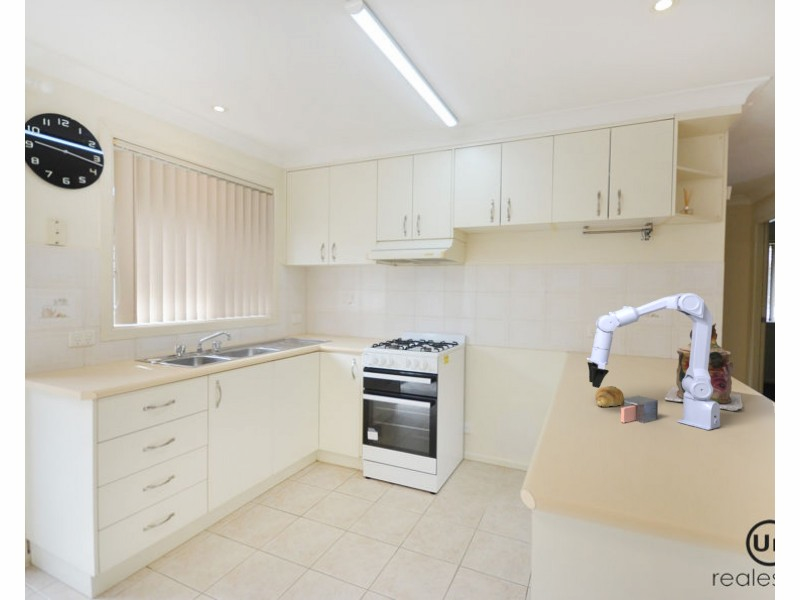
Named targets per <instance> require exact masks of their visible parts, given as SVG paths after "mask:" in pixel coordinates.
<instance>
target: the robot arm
mask: <svg viewBox="0 0 800 600" xmlns="http://www.w3.org/2000/svg"><path fill="white" fill-rule="evenodd" d="M666 309H667V310H669V309H670V310H676V311H678V312H679V313H681V314H684V315H685V316H687V317H688V318H689V319H690V320H691V321H692V329H691V330H692V340H691V339H690V341H691V342H690V343H691V351H690V361H689V368H688V369H687V371H686V376H685V377H684V379H683V380H682V387H683V389H684V390H685V393H684V396H683V402H682V403H683V404H682V406H683V407H682V408H683V410H682V418H681V419H678V420H677V421H676V422H677V423H681V424H684V425H688V426H691V427H696V428H698V429H703V430H706V431H711V430H713V429H718V428H720V427H721V423H720V420H721V417H720V416H721V414H720V413H721V408H720V406H719V403H717V402H715V401H712V400H710V396H711V395H712V394H713V387H712V385H711V383H710V380H711V378H710V375H709V372H708V364H709V354H710V343H711V333H712V325H713V322H714V319H713V318H714V317H713V314H712V313H711V312H710V310H709V308H708V306H707V305H706V302H705V300H704V299H703V298H702V297H700V296H699V295H698V294H696V293H693V292H687V293H684V292H681V293H680V292H679V293H677V294H672V295H668V296H664V297H661V298H658V299H655V300H654V301H651V302H648V303H645V304H642V305H640V306H638V307H634V306H629V305H628V306H626V305H624V306H622V307H621V309H617V310H615V311H613V312H612V311H609V312H608V314H603V315H600V316H598V318H597V319H596V321H595V325H596V329H595V333H594V337H593V343H592V348H591V354H590V357H586V360H587V361H588V362H586V363H587V367H588V372H589V373H588V376H589V377H588V378H589V383H591V386H592V387H593V388H597V389H600V388H601V385H602V383H603V380H604V378H605V377H606V376H607V375H608V373H609V371H610V370H608V369H605V368H606V366H607V365H609V358H610V353H611V347H612V342H613V336H614V335H613V334H614V331H615V330H616V329H617V328H621V327H622V328H623V327H624V326H627V325H631V324H633V323H637V322H638V321H639V319H640V317H643V316H645V315H649V314H651V313H655V312H658V311H661V310H666Z"/></svg>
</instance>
